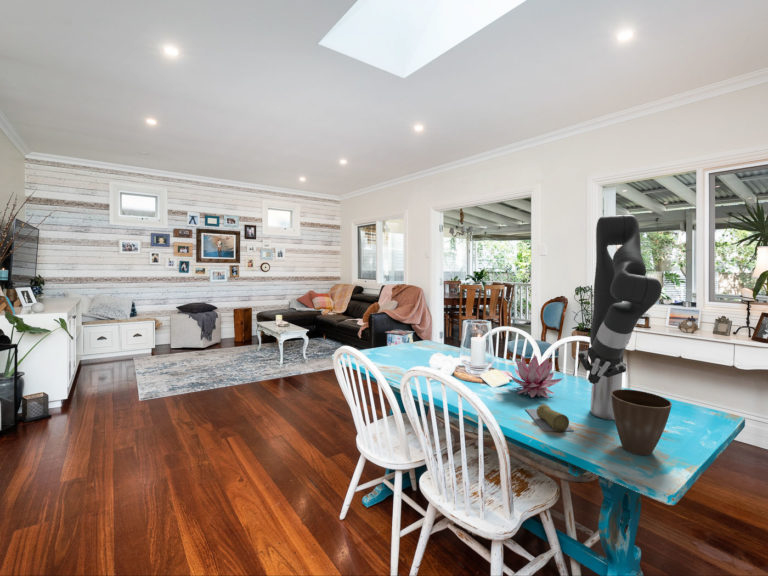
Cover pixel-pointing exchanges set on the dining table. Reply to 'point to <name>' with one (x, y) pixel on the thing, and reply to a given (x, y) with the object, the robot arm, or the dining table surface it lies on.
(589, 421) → the dining table surface
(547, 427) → the mat
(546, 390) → the decorative flower
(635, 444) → the plant pot
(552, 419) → the cork
